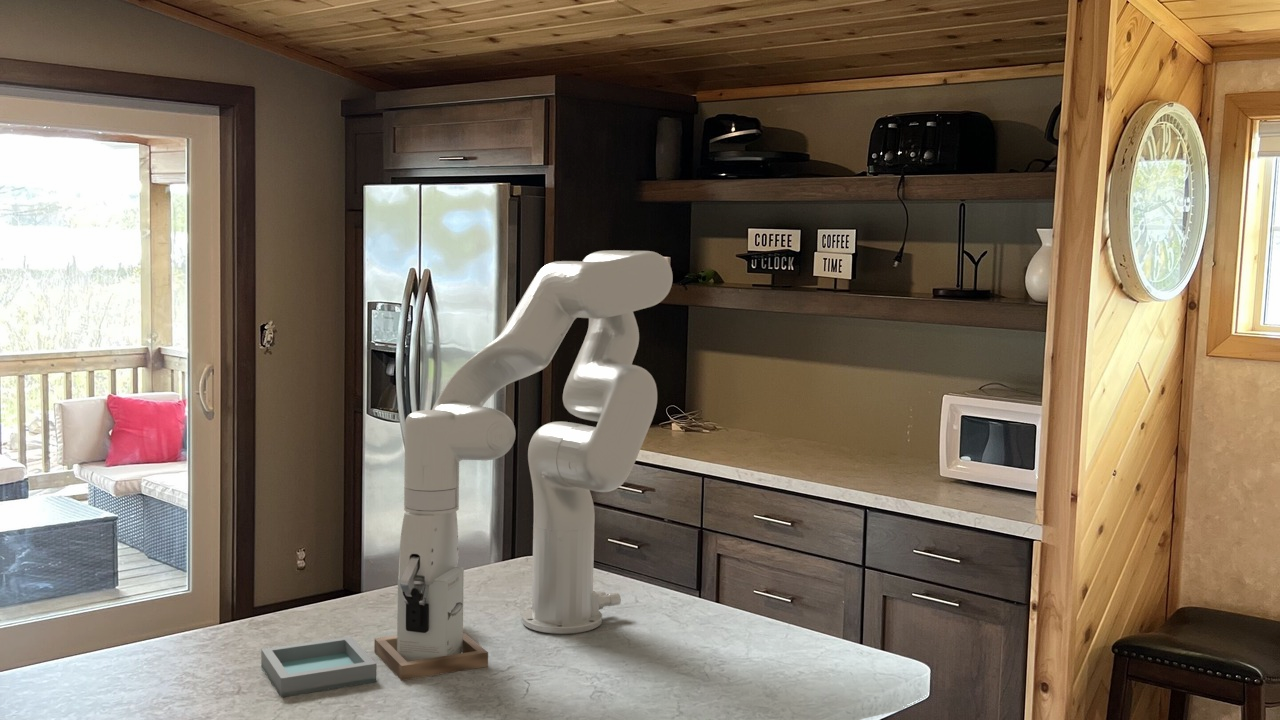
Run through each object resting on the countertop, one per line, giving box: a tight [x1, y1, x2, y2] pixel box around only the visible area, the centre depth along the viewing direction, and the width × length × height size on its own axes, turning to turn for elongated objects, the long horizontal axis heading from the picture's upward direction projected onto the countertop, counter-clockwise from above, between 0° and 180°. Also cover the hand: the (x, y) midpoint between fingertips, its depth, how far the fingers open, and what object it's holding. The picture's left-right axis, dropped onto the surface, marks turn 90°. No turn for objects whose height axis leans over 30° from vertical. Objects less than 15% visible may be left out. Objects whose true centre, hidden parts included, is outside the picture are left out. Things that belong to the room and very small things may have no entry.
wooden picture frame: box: [374, 631, 489, 681], centre depth 160 cm, size 12×12×2 cm
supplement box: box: [396, 566, 465, 662], centre depth 160 cm, size 7×7×13 cm
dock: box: [260, 635, 378, 698], centre depth 154 cm, size 12×12×2 cm
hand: (430, 621), depth 160 cm, fingers closed on supplement box, 7 cm apart
